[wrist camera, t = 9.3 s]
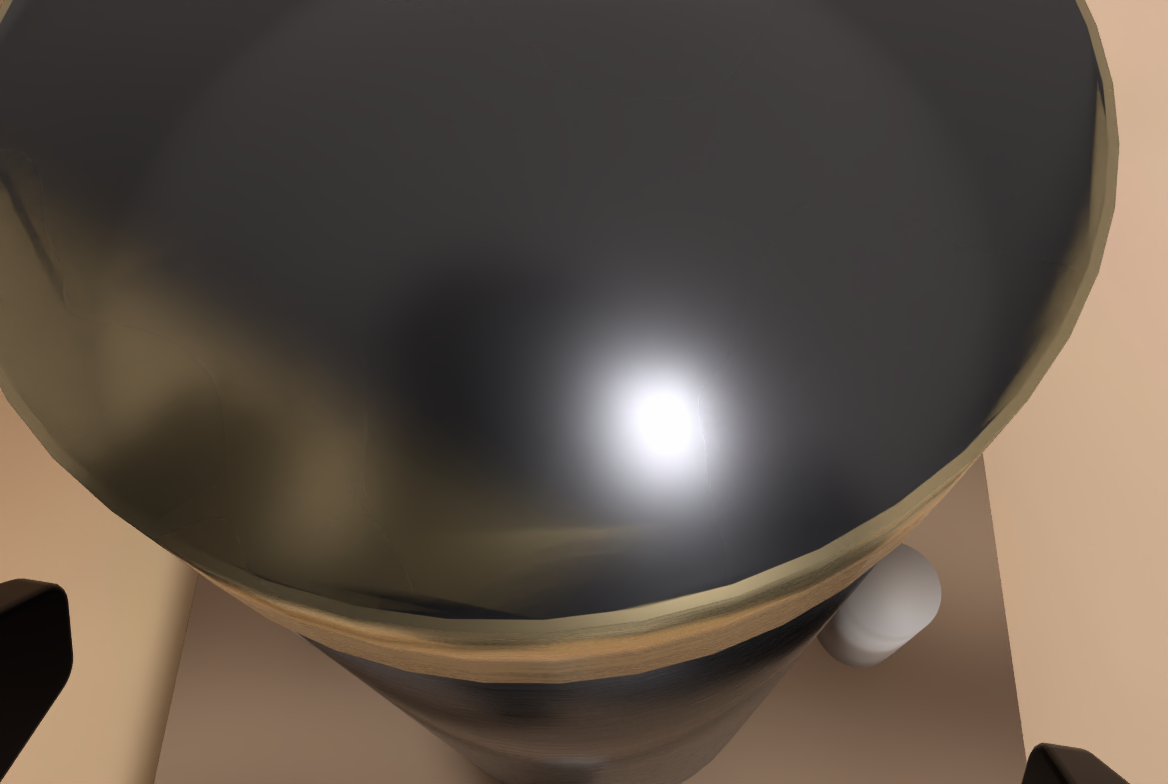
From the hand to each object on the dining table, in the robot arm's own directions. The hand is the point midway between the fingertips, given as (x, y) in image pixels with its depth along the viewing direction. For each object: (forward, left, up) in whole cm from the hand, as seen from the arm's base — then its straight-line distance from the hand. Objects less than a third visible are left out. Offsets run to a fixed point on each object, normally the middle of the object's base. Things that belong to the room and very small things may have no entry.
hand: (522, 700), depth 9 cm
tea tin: (+3, 0, -8) cm, 8 cm away
